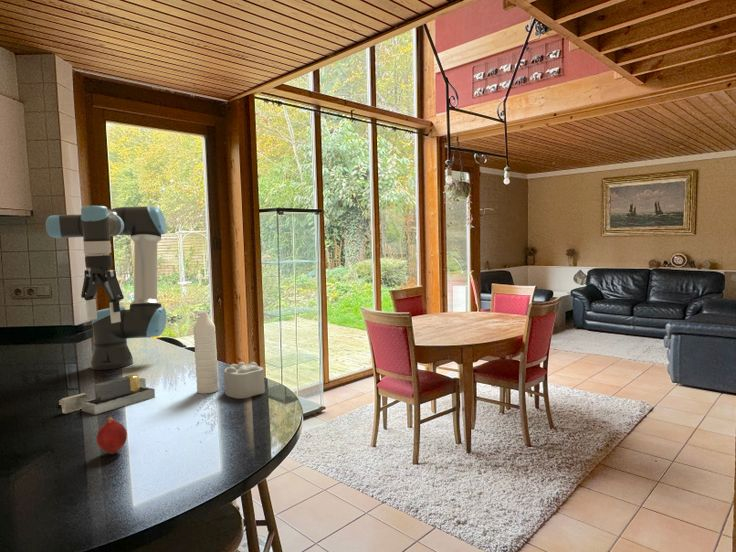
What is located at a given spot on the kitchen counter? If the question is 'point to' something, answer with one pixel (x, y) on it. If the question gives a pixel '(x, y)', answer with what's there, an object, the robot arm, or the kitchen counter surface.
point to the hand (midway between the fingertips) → (103, 321)
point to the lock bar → (117, 388)
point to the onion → (111, 436)
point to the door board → (91, 407)
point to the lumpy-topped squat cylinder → (244, 380)
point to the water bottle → (205, 354)
